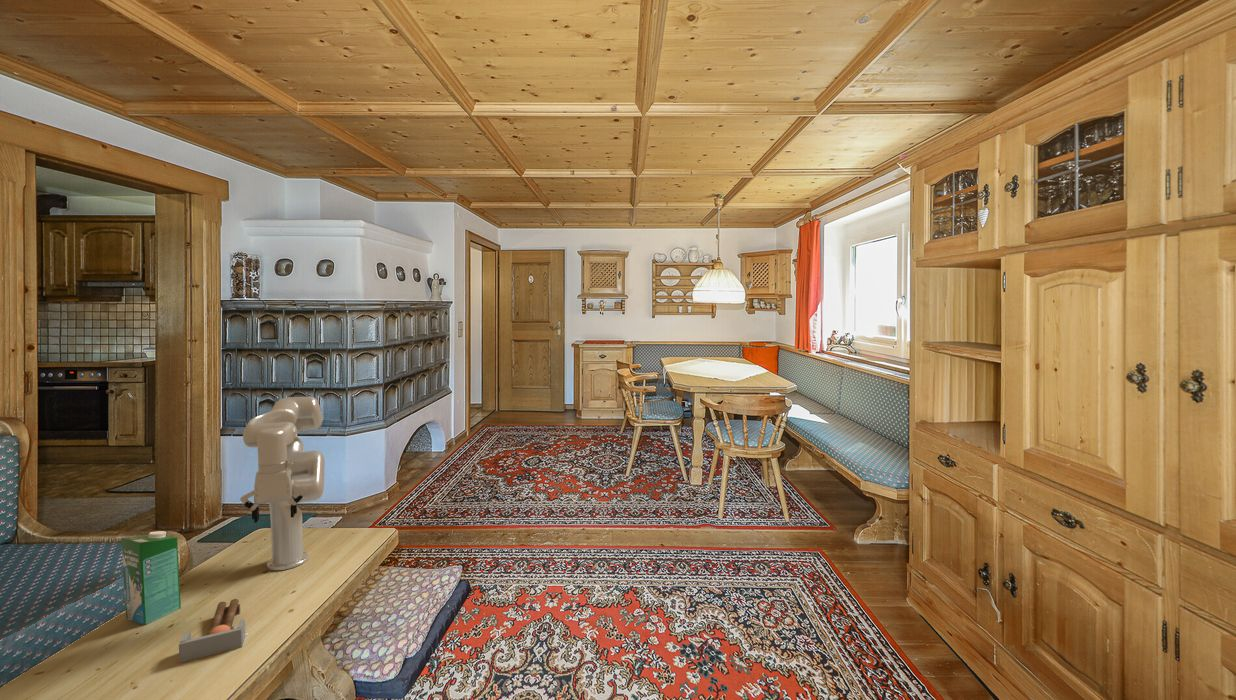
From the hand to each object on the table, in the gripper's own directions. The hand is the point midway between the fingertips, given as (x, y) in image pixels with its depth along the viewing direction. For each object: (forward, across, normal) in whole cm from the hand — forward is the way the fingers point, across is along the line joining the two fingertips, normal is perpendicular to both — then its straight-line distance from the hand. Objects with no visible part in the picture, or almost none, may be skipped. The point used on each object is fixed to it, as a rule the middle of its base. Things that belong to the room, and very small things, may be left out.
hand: (275, 518), depth 154 cm
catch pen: (+25, +10, +24) cm, 36 cm away
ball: (+22, +10, +22) cm, 33 cm away
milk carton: (+26, +32, -3) cm, 41 cm away
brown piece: (+25, +11, +12) cm, 30 cm away
